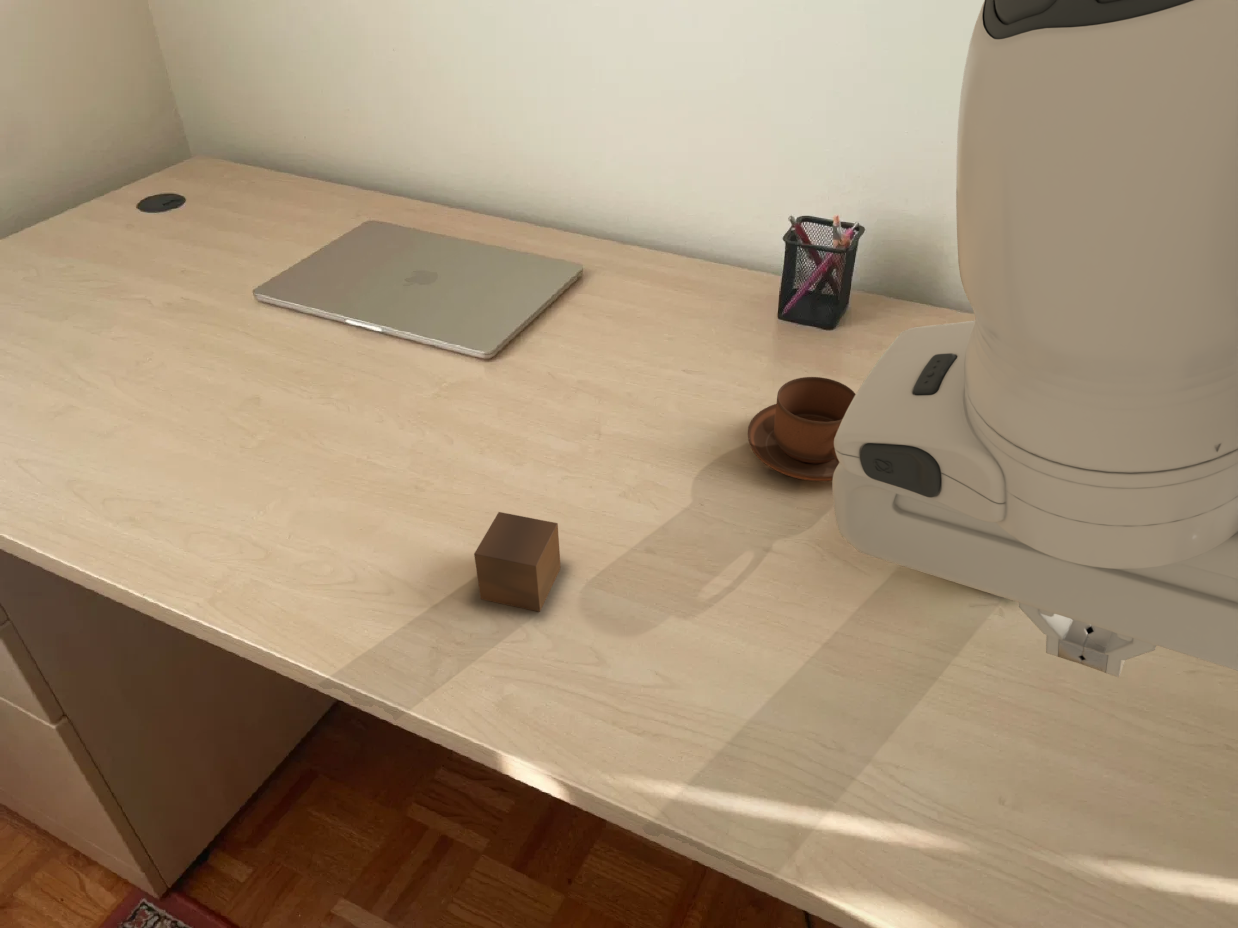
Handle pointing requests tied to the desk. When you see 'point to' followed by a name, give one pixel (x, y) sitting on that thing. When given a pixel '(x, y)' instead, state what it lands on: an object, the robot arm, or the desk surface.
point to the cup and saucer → (801, 428)
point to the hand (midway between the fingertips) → (1087, 652)
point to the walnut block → (518, 561)
